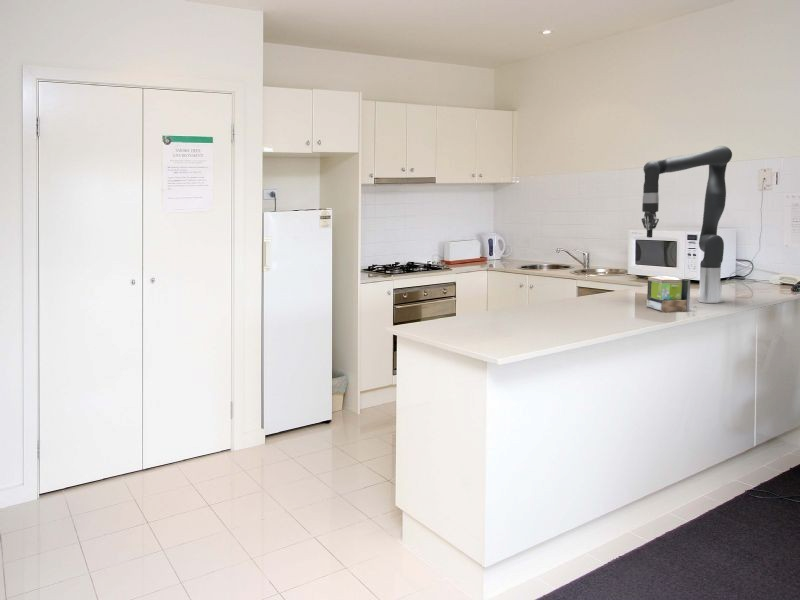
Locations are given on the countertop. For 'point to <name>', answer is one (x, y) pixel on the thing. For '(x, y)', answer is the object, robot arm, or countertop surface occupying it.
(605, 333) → the countertop surface
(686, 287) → the bookend
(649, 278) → the tea box
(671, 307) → the wooden block
